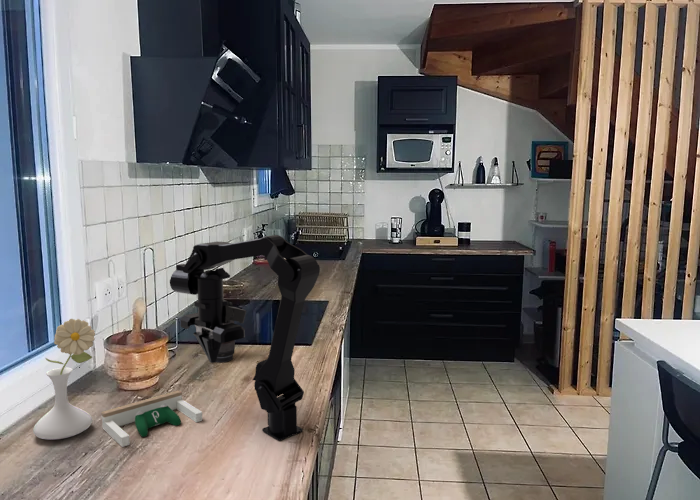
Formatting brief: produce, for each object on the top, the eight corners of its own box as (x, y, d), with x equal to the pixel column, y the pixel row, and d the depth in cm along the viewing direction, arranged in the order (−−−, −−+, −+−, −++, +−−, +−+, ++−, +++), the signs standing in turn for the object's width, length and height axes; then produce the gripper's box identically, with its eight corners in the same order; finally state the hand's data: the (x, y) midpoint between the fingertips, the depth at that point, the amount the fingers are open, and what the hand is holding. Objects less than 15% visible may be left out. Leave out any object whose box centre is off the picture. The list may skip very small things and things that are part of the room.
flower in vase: (30, 449, 110) (20, 330, 107) (37, 426, 120) (28, 316, 117) (100, 437, 115) (93, 323, 112) (101, 416, 125) (94, 310, 122)
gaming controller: (177, 429, 123) (168, 406, 125) (183, 422, 121) (173, 398, 123) (138, 443, 116) (128, 418, 119) (142, 435, 114) (133, 410, 117)
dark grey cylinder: (221, 353, 171) (219, 306, 169) (240, 357, 167) (239, 309, 165) (202, 360, 164) (200, 312, 162) (222, 365, 160) (220, 315, 158)
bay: (202, 420, 123) (201, 404, 123) (122, 446, 111) (121, 429, 110) (179, 405, 131) (178, 390, 131) (102, 428, 119) (101, 411, 119)
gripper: (263, 297, 123) (265, 363, 125) (219, 286, 136) (221, 346, 138) (221, 305, 115) (223, 376, 117) (178, 292, 128) (180, 356, 130)
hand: (212, 362), depth 126 cm, fingers closed
